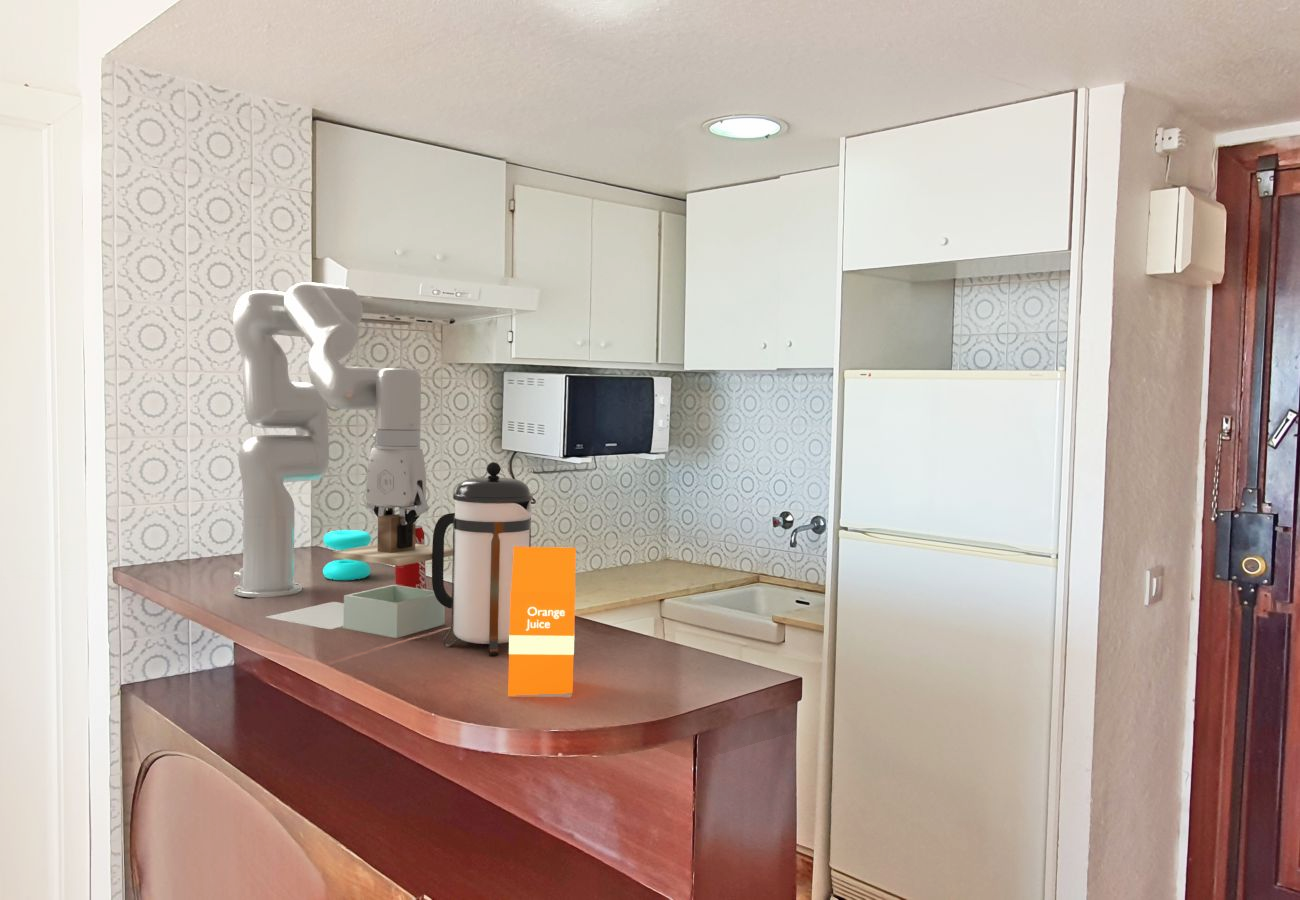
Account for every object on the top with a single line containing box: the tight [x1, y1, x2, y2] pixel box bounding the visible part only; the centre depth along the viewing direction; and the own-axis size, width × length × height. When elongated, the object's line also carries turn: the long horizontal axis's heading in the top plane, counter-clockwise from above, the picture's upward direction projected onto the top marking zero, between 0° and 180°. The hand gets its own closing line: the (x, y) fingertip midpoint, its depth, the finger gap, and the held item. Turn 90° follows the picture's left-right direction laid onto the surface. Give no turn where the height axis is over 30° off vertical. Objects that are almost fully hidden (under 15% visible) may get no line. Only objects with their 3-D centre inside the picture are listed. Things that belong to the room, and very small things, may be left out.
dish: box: [342, 584, 446, 639], centre depth 165 cm, size 12×12×6 cm
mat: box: [265, 601, 344, 630], centre depth 172 cm, size 16×16×1 cm
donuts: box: [322, 529, 372, 581], centre depth 210 cm, size 10×10×10 cm
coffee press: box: [431, 461, 534, 657], centre depth 155 cm, size 17×16×30 cm
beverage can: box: [394, 525, 427, 590], centre depth 185 cm, size 6×6×15 cm
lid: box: [331, 513, 453, 567], centre depth 164 cm, size 15×15×7 cm
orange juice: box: [507, 546, 577, 697], centre depth 132 cm, size 8×9×20 cm
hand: (396, 545), depth 164 cm, fingers closed on lid, 3 cm apart
